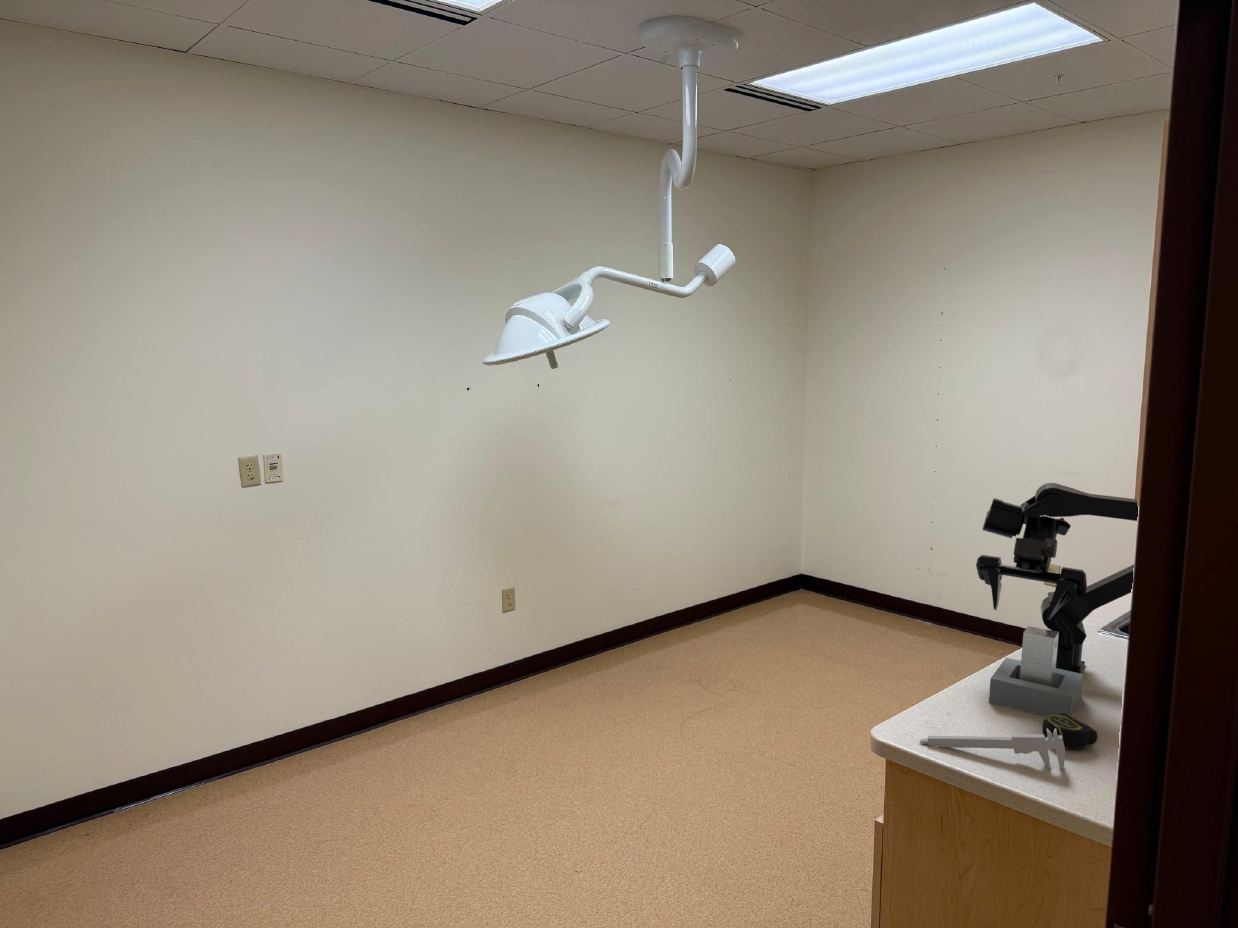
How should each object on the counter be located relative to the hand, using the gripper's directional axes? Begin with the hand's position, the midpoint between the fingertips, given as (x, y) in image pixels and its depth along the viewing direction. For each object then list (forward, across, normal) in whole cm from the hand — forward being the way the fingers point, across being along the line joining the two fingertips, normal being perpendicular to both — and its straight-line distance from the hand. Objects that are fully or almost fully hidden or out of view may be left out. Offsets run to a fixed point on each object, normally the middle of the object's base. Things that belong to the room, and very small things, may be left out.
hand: (1021, 613), depth 158 cm
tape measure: (+24, +12, -4) cm, 27 cm away
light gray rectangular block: (+14, +5, +5) cm, 15 cm away
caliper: (+33, +3, -13) cm, 35 cm away
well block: (+14, +4, +5) cm, 16 cm away
